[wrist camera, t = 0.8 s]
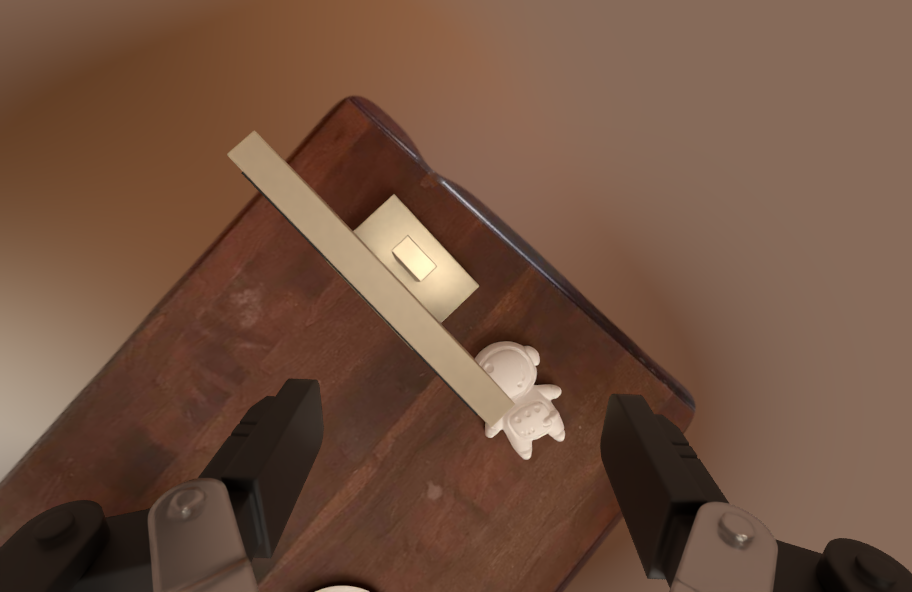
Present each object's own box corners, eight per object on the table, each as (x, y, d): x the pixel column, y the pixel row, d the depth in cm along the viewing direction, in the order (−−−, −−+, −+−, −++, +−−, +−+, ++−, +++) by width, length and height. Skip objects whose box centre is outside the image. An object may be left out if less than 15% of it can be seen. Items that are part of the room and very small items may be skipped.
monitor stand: (412, 348, 43) (415, 374, 31) (325, 259, 42) (293, 249, 30) (477, 285, 44) (506, 287, 31) (394, 195, 42) (390, 161, 30)
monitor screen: (456, 373, 33) (489, 430, 21) (296, 207, 32) (223, 156, 19) (472, 357, 34) (515, 404, 21) (314, 191, 32) (253, 129, 19)
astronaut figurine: (498, 466, 44) (505, 480, 41) (454, 359, 43) (458, 364, 40) (575, 431, 45) (587, 442, 42) (533, 325, 44) (543, 328, 41)
